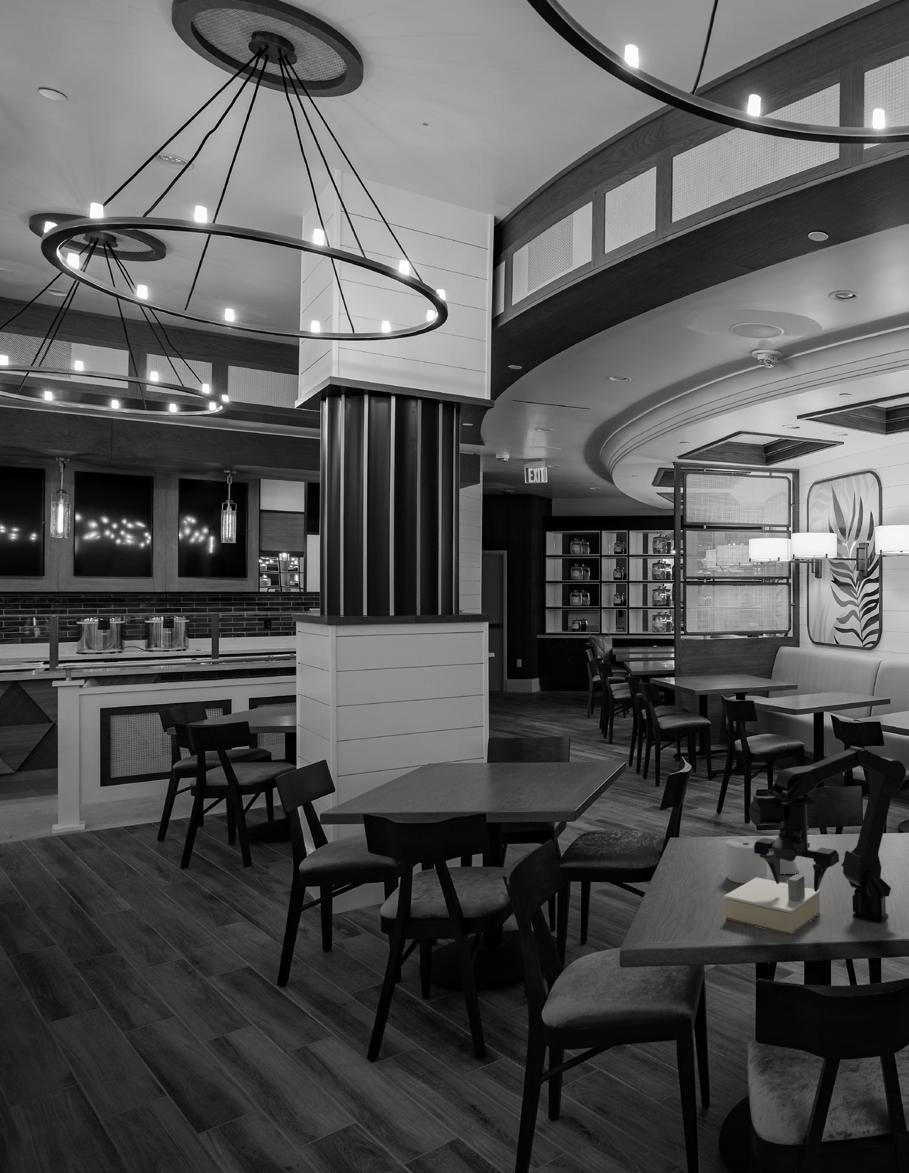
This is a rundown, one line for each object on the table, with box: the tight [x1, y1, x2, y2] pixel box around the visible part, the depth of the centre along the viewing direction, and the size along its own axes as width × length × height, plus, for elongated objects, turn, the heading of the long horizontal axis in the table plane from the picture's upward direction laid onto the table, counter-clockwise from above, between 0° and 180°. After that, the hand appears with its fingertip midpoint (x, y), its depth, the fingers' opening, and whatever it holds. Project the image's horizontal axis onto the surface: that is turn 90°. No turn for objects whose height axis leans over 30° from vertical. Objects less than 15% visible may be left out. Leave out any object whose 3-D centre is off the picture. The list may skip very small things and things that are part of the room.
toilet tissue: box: [725, 837, 768, 884], centre depth 239 cm, size 11×12×10 cm
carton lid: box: [724, 873, 821, 913], centre depth 209 cm, size 16×18×6 cm
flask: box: [780, 859, 800, 876], centre depth 244 cm, size 7×7×10 cm
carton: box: [725, 893, 821, 936], centre depth 209 cm, size 16×18×5 cm
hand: (796, 887), depth 205 cm, fingers open, 9 cm apart
